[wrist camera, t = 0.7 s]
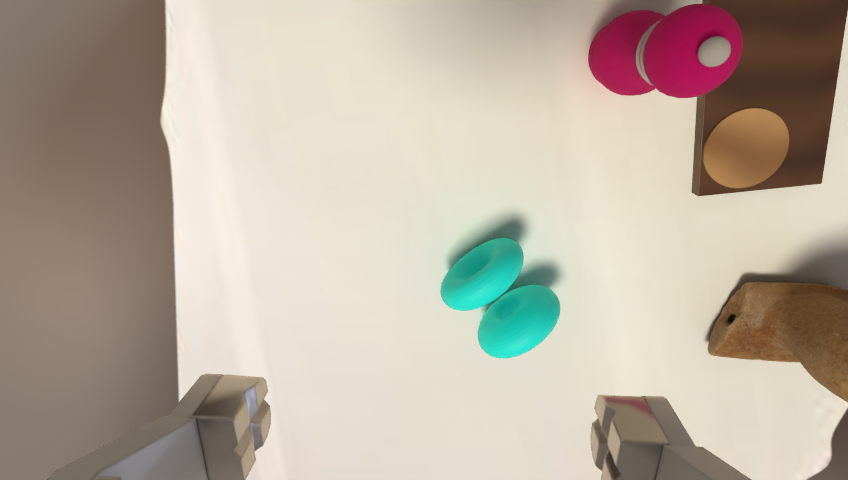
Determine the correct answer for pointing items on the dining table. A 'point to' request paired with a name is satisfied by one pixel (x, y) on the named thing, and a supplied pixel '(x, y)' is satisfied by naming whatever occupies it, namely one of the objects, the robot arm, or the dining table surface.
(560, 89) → the dining table surface
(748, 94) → the serving board
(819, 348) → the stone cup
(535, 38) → the dining table surface
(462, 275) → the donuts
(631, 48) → the pepper mill
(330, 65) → the dining table surface
